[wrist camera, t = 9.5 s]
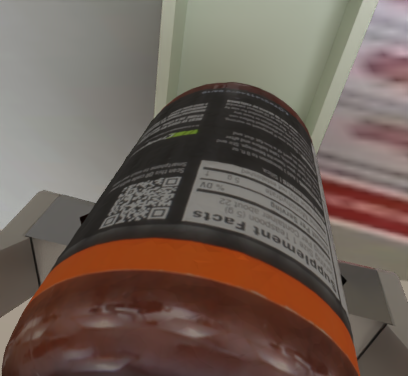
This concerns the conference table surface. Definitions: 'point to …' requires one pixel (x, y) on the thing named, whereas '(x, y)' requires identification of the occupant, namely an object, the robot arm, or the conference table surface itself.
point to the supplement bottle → (199, 256)
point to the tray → (264, 50)
